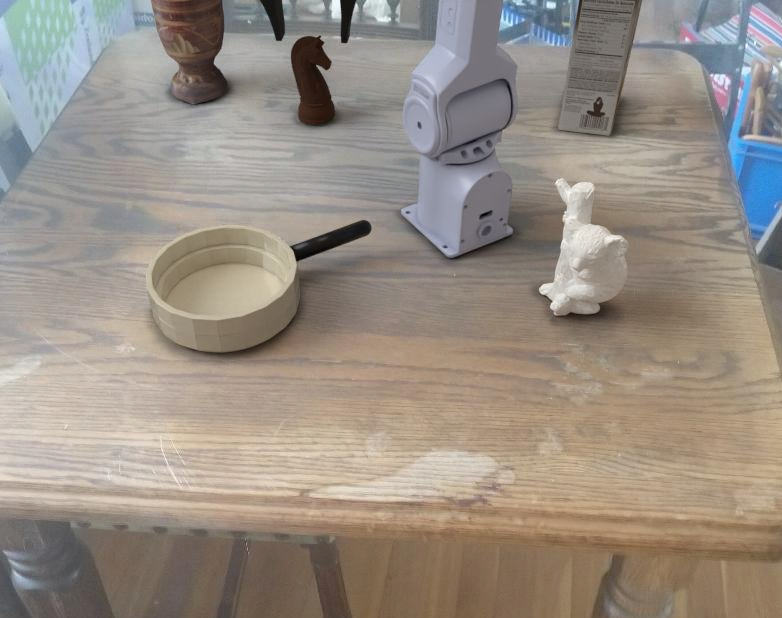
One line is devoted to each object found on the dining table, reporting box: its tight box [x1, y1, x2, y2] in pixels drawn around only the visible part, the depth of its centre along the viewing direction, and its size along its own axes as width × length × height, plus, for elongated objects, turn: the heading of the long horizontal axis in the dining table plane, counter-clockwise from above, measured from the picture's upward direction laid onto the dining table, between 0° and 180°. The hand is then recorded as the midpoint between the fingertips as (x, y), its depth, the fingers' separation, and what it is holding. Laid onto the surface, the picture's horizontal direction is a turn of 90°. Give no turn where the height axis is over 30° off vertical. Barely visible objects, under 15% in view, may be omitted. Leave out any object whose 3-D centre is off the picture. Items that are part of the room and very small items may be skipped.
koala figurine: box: [538, 177, 630, 317], centre depth 77 cm, size 8×7×12 cm
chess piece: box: [290, 35, 336, 127], centre depth 103 cm, size 5×5×10 cm
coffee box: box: [557, 0, 643, 137], centre depth 98 cm, size 9×6×16 cm
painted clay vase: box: [150, 0, 229, 105], centre depth 106 cm, size 12×9×20 cm
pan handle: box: [289, 219, 373, 263], centre depth 84 cm, size 10×2×2 cm, turn 118°
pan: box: [144, 223, 301, 354], centre depth 82 cm, size 14×14×4 cm
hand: (312, 38), depth 100 cm, fingers open, 7 cm apart
